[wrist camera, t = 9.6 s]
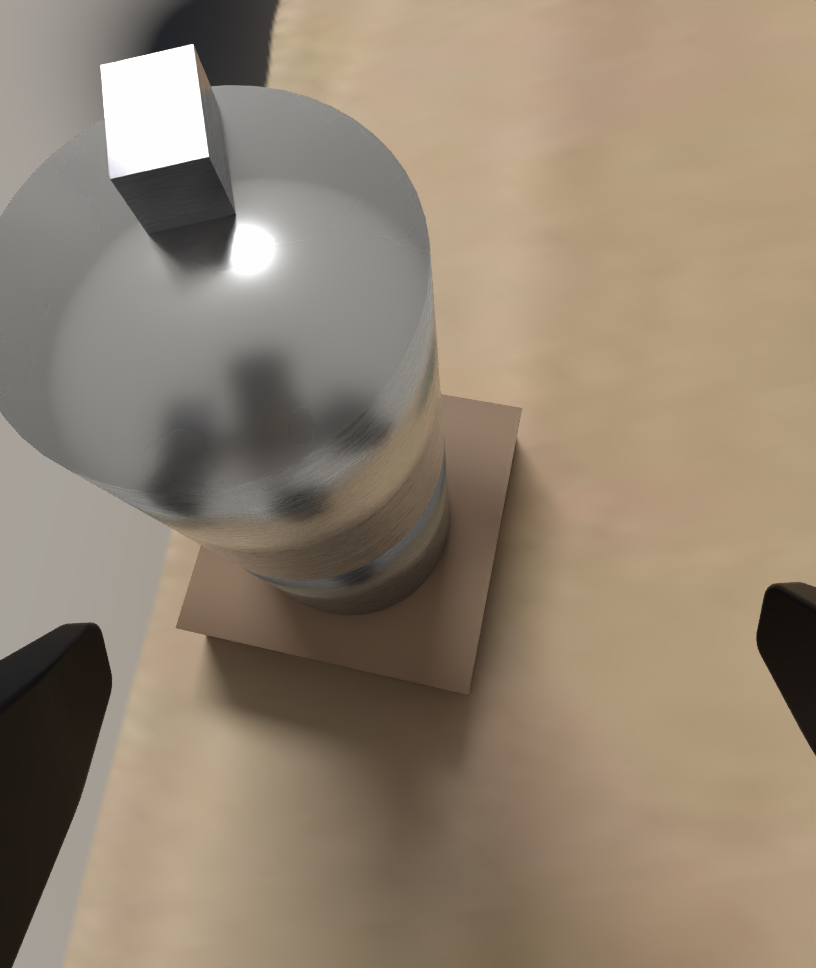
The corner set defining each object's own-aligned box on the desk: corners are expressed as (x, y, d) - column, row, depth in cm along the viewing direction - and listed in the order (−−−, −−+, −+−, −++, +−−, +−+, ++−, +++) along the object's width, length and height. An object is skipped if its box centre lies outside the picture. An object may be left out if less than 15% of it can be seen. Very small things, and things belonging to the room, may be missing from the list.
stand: (468, 694, 22) (468, 695, 19) (205, 634, 23) (175, 627, 21) (516, 436, 24) (522, 408, 22) (276, 394, 25) (257, 363, 23)
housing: (469, 592, 20) (481, 392, 7) (272, 634, 20) (-96, 519, 7) (427, 410, 22) (371, -26, 9) (247, 450, 22) (-83, 77, 9)
